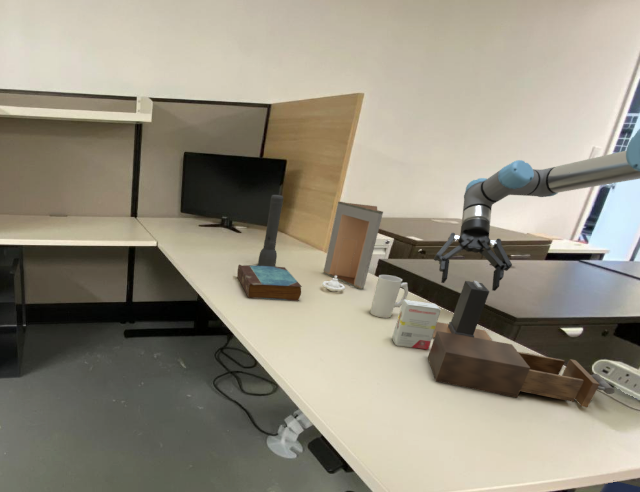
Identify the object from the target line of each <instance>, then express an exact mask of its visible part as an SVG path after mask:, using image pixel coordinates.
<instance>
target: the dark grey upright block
mask: <svg viewBox="0 0 640 492" xmlns="http://www.w3.org/2000/svg"><path fill="white" fill-rule="evenodd" d="M489 294H490V290H489V289H488V288H487V287H486V286H485V284H483V283H482V282H479V281H477V280H473V281H470V280H465V281H464V283H463V286H462V289H461V292H460V295H459V297H458V300H457V303H456V306H455V309H454V311H453V314H452V317H451V320H450V321H449V322H448V324H449V325H448V327H449V329H450V331H451V333H452V334H457V335H463V336H468V337H474V332H475V329H477V327H478V323H479V322H480V318H481V316H482V313H483V311H484V308H485V306H486V305H485V304H486V302H487V300H488V297H489Z"/></svg>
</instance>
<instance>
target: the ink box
mask: <svg viewBox="0 0 640 492" xmlns="http://www.w3.org/2000/svg"><path fill="white" fill-rule="evenodd" d="M441 310H442V309H441V308H440V307H439V306H438V305H437V304H436V303H433V302H424V301H419V300H418V301H417V300H409V299H405V300H403V303H402V305H401V307H400V309H399V313H398V316H397V320H396V322H395V326H394V330H393V334H392V337H391V339H392V341H393V343H394V345H395V346H398V347H404V348H405V347H406V348H413V349H421V350H429V349H430V346H431V343H432V340H433V337H432V336H433V333H434V330H435V327H436V324H437V322H439V321H438V320H439V317H440V314H441V312H442V311H441Z"/></svg>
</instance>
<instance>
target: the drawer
mask: <svg viewBox="0 0 640 492" xmlns="http://www.w3.org/2000/svg"><path fill="white" fill-rule="evenodd" d="M517 352H518V353H519V354H520V355H521V357H522V358H523V359H524V361H525V362H526V363H527V364H528V366H529V367H530V370H529V372H528V374H527V377H526V379H525V381H524V383H523V386H522V388H521V390H520V392H523V393H528V394H532V395H537V396H541V397H547V398H552V399H557V400H562V401H567V402H572V403H573V402H574V401H576V402H577V403H578V404H579V406H581V407H583V408H588V407H589V406H590V404H591V402H592V400H593V399H594V396H595V394H596V393H597V391H602V392H604V393H605V394H606V395H612V394H613V393H614V392H615V389H614V388H613V387H612V385H611V384H609V383H608V381H606V380H605V379H604V378H603V377H602V376H601V375H600V374H598V373H593V374H590V373H589V372H588V371H587V370H586V369H585V368H584V367H583V366H582V365H581V364H580V363H579V362H578V361H577V359H569V360H568V362H567V364H566V366H565V368H564V370H563V372H562V374H560V373H561V371H562V368H563V367H564V364H565V363H566V361H565V359H560V358H554V357H549V356H544V355H539V354H533V353H528V352H523V351H522V352H521V351H517Z"/></svg>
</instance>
